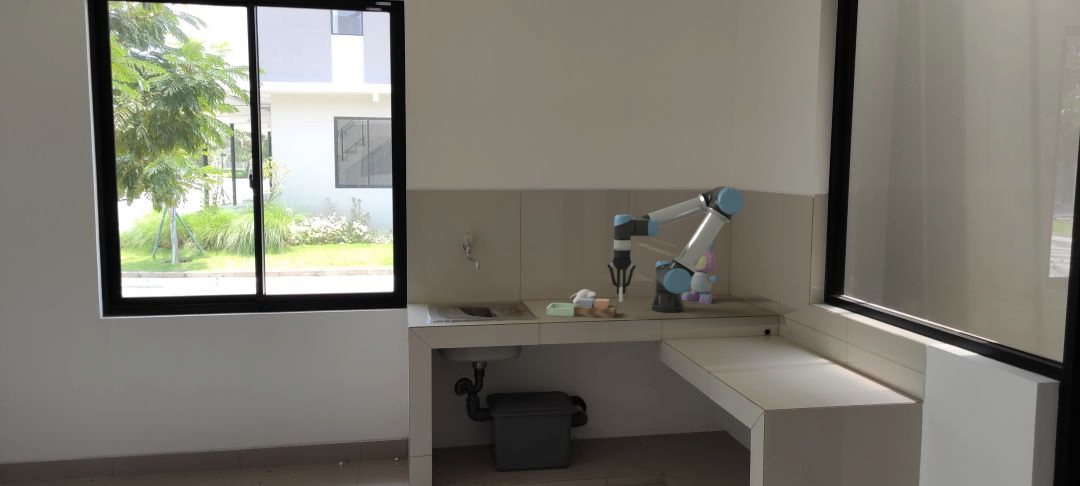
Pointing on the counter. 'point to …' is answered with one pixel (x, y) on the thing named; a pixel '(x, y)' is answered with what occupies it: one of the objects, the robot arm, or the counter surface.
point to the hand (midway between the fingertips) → (620, 301)
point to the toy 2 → (702, 279)
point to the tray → (560, 309)
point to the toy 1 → (583, 295)
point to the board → (595, 311)
